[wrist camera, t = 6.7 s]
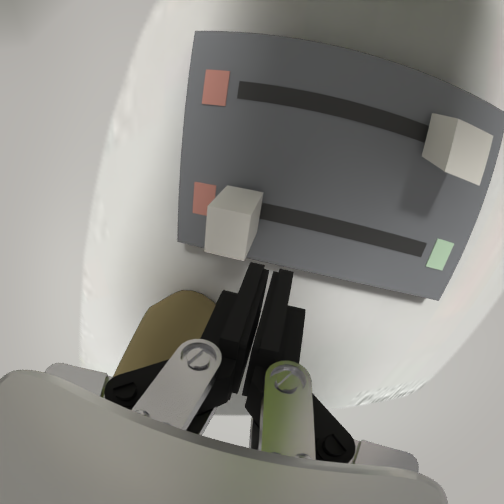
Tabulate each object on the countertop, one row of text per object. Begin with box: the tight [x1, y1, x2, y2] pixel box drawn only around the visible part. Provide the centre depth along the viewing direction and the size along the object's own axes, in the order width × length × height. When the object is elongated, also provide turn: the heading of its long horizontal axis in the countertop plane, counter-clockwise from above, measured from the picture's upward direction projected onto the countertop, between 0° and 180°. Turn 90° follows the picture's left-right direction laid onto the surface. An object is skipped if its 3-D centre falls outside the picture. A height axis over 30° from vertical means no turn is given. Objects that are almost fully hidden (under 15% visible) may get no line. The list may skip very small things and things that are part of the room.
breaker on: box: [422, 113, 493, 186], centre depth 14 cm, size 3×2×4 cm
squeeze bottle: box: [113, 290, 216, 377], centre depth 22 cm, size 8×8×18 cm
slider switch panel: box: [178, 31, 504, 301], centre depth 19 cm, size 16×22×2 cm
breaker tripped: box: [204, 185, 264, 261], centre depth 19 cm, size 3×2×4 cm
